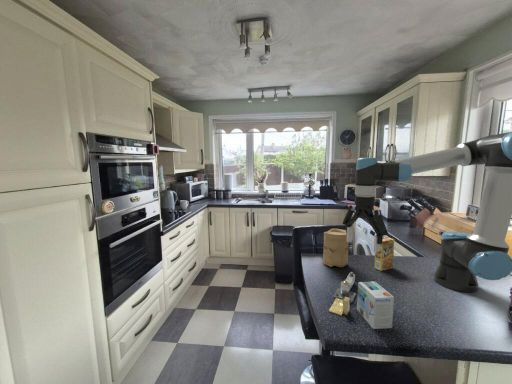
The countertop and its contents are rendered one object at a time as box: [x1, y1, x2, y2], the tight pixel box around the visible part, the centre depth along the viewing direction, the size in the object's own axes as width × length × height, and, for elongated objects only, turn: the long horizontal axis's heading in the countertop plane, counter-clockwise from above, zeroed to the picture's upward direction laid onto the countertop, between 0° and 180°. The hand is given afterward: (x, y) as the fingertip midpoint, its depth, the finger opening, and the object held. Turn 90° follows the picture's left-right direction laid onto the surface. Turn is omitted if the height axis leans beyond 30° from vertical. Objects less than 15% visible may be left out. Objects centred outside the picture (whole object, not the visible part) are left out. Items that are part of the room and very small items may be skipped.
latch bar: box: [340, 271, 356, 295], centre depth 97 cm, size 15×3×5 cm, turn 145°
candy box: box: [374, 237, 395, 272], centre depth 118 cm, size 9×4×15 cm, turn 113°
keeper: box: [328, 297, 351, 317], centre depth 85 cm, size 6×10×5 cm, turn 145°
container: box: [322, 228, 350, 268], centre depth 122 cm, size 13×13×18 cm
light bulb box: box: [356, 280, 395, 330], centre depth 78 cm, size 11×7×11 cm, turn 5°
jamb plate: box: [332, 287, 357, 304], centre depth 92 cm, size 7×7×1 cm
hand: (362, 246), depth 96 cm, fingers open, 13 cm apart
